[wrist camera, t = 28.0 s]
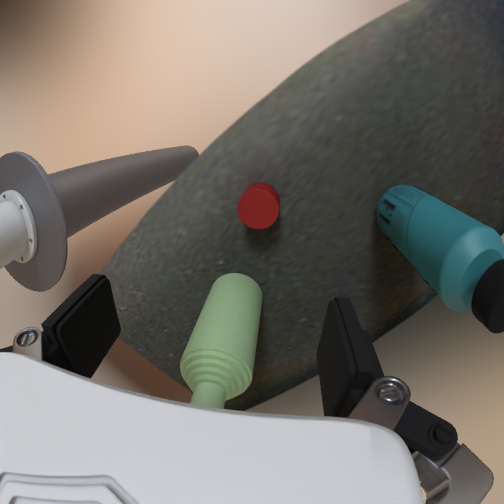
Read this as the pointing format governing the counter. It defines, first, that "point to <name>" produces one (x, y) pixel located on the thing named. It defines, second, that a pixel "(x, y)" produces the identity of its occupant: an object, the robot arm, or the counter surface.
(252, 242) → the counter surface
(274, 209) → the cap
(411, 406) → the robot arm
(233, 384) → the sauce bottle
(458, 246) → the beverage bottle
